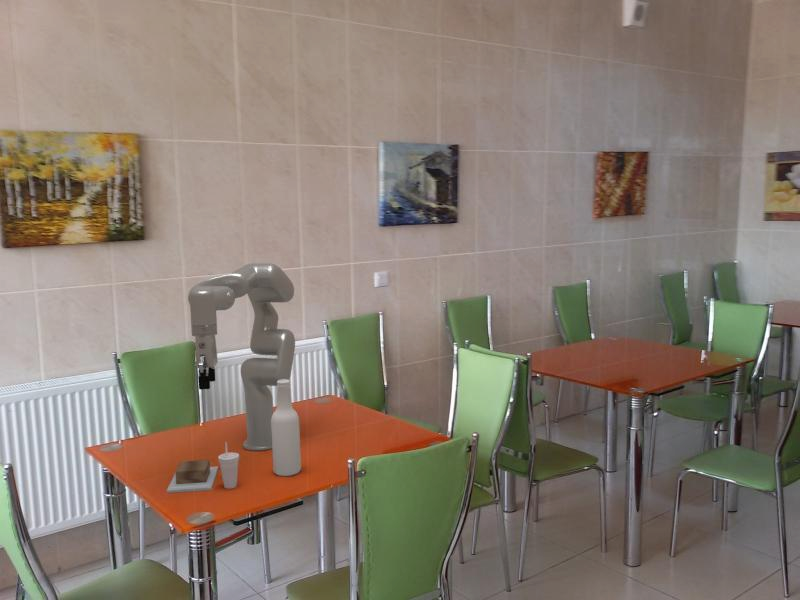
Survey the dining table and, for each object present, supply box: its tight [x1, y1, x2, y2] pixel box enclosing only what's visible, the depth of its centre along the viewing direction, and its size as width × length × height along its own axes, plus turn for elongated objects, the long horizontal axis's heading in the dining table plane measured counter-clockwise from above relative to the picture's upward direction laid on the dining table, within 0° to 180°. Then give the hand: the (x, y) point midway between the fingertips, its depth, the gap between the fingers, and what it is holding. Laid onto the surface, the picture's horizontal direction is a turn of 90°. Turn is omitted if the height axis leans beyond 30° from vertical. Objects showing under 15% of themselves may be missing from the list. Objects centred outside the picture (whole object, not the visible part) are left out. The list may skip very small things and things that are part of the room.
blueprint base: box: [166, 459, 219, 494], centre depth 230 cm, size 13×18×5 cm
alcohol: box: [271, 379, 302, 477], centre depth 234 cm, size 9×9×30 cm
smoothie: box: [217, 441, 240, 490], centre depth 224 cm, size 6×6×14 cm
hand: (207, 385), depth 225 cm, fingers open, 9 cm apart
